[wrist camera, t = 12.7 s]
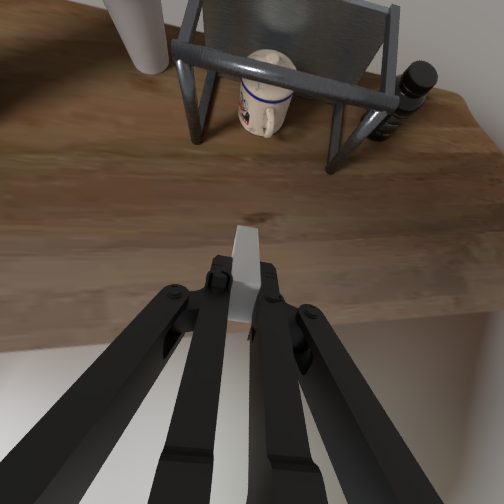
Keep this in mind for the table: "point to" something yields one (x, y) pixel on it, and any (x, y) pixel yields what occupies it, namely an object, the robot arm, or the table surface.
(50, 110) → the table surface
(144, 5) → the coffee cup
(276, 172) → the table surface
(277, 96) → the teacup with lid
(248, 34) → the box
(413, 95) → the supplement bottle
